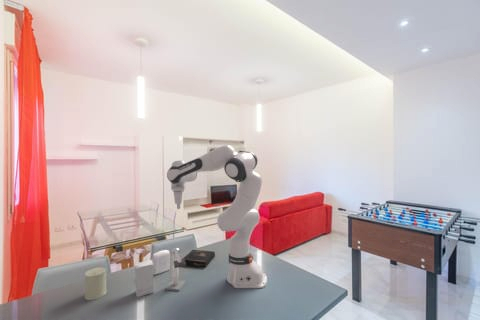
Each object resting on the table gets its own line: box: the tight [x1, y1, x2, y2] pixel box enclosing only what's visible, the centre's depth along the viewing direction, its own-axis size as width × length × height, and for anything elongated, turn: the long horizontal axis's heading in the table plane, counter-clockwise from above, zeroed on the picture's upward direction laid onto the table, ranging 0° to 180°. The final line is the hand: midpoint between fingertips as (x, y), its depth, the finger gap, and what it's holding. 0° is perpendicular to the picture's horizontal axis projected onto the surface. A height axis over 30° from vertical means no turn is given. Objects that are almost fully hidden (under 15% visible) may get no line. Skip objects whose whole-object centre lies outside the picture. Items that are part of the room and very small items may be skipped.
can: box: [84, 266, 108, 301], centre depth 112 cm, size 9×9×12 cm
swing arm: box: [171, 246, 187, 268], centre depth 111 cm, size 21×5×2 cm, turn 23°
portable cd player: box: [181, 249, 216, 269], centre depth 149 cm, size 16×17×4 cm
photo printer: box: [151, 249, 171, 276], centre depth 135 cm, size 10×4×12 cm, turn 134°
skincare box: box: [134, 259, 155, 298], centre depth 114 cm, size 8×6×15 cm
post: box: [164, 254, 187, 292], centre depth 119 cm, size 8×8×18 cm
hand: (178, 208), depth 141 cm, fingers closed
